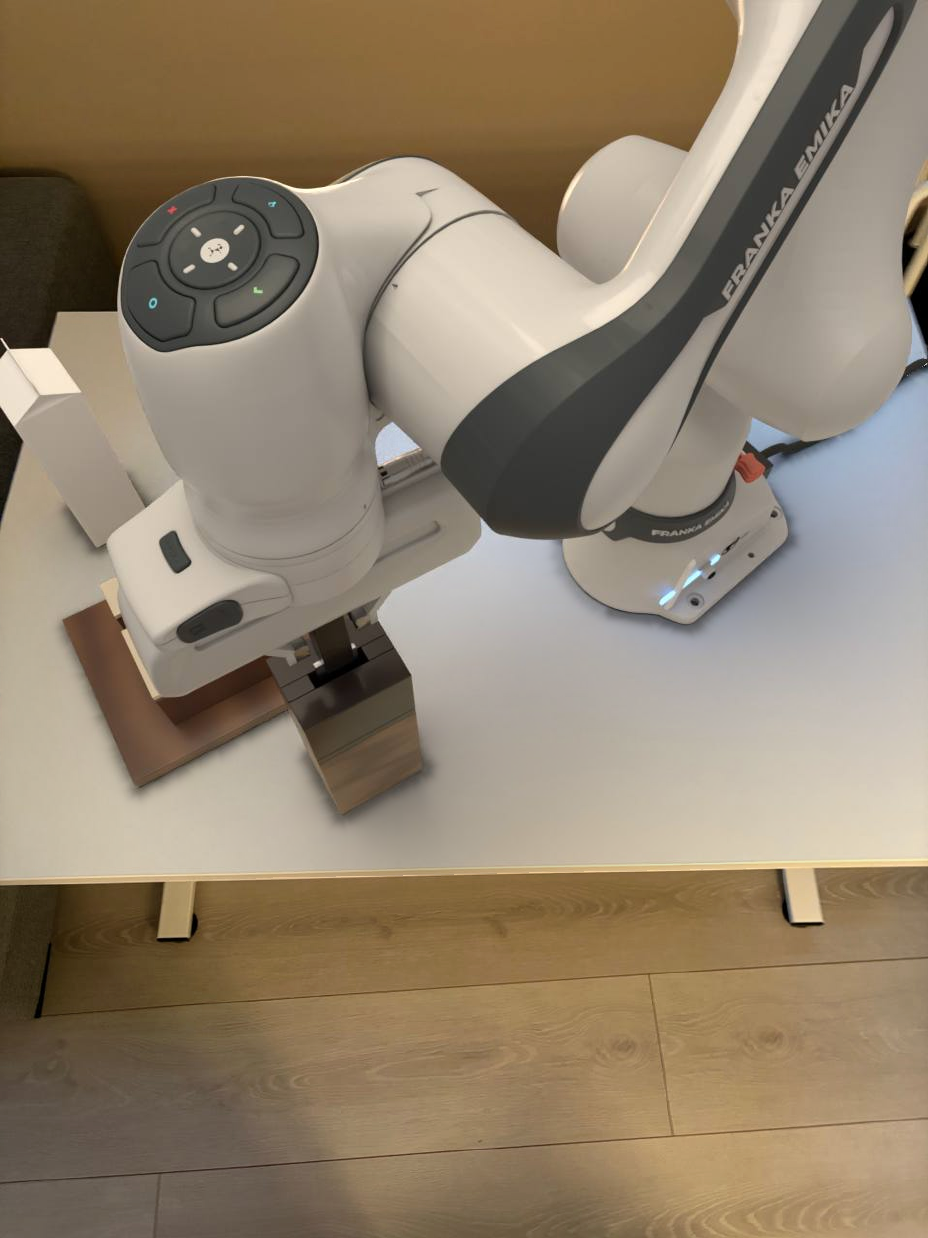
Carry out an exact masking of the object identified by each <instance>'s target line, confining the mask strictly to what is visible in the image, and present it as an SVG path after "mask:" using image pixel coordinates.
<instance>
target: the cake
mask: <svg viewBox="0 0 928 1238" xmlns="http://www.w3.org/2000/svg"><path fill="white" fill-rule="evenodd" d="M121 632H122V635H123V637H124V639H125V641H126V643H127V645H128V647H129V649H130V652H131V654H132V656H133V658H134V660H135V662H136V664H137V667H138V669H139V671H140V673H141V675H142V677H143V679H144V681H145V684H146V686H147V688H148V690H149V692H150V694H151V696H152V698H153V699H154V701H155V702H156V703H157V704H158V706H159V707H160V708H161V709H162V711H163V712H164V713H165V714H166V716H167V717H168V718H169V719H170V720H171V722H172V723H173V724H174V725H177V724H179V723H181V722H183V721H185V720H187V719H189V718H191V717H193V716H195V715H196V714H198V713H200V712H202V711H204V710H206V709H208V708H210V707H212V706H214V705H216V704H218V703H220V702H222V701H224V700H226V699H228V698H230V697H232V696H234V695H236V694H237V693H239V692H241V691H243V690H245V689H247V688H249V687H251V686H253V685H255V684H257V683H259V682H261V681H263V680H265V679H267V678H269V677H271V676H272V674H271V671H270V669H269V667H268V665H267V663H266V659H268V658H270V657H272V656H266V655H263V656H261V657H259V658H257V659H255V660H253V661H251V662H249V663H247V664H245V665H243V666H241V667H239V668H237V669H235V670H233V671H231V672H229V673H227V674H226V675H224V676H222V677H220V678H218V679H216V680H214V681H212V682H210V683H208V684H206V685H204V686H202V687H200V688H198V689H196V690H194V691H192V692H190V693H188V694H186V695H184V696H180V697H162V696H160V695H159V694H158V693H157V691H156V689H155V688H154V686H153V684H152V682H151V680H150V678H149V676H148V674H147V672H146V670H145V668H144V666H143V664H142V662H141V660H140V658H139V656H138V653H137V651H136V649H135V646H134V644H133V642H132V640H131V637H130V635H129V633H128V631H127V629H125V630H122V631H121Z"/></svg>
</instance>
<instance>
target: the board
mask: <svg viewBox="0 0 928 1238" xmlns="http://www.w3.org/2000/svg"><path fill="white" fill-rule="evenodd" d="M344 618H345V619H347V618H349V617H348V615H347V613H346V614H344ZM61 621H62V623H63V626H64V627H65V630H66V632H67V634H68V637H69V639H70V641H71V644H72V646H73V648H74V650H75V653H76V655H77V657H78V659H79V662H80V664H81V667H82V668H83V671H84V674H85V676H86V678H87V681H88V682H89V684H90V687H91V689H92V692H93V694H94V696H95V698H96V700H97V703H98V705H99V707H100V710H101V712H102V714H103V717H104V719H105V720H106V723H107V725H108V727H109V730H110V733H111V734H112V738H113V739H114V741H115V744H116V746H117V749H118V750H119V753H120V755H121V757H122V758H121V759H122V760H123V762H124V765H125V767H126V768H127V771H128V774H129V776H130V778H131V780H132V782H133V784H135V785H136V786H137V787H138V788H141V787H142V786H145V785H146V784H149V783H150V782H152V781H154V780H156V779H158V778H160V777H162V776H163V775H166V774H168V773H169V772H172V771H173V770H176V769H177V768H179V767H181V766H183V765H184V764H186V763H189V762H190V761H192V760H194V759H196V758H199V757H200V756H202V755H204V754H206V753H207V752H209V751H211V750H213V749H215V748H217V747H220V746H222V745H224V743H227V742H228V741H230V740H232V739H235V738H236V737H238V736H240V735H242V734H243V733H245V732H248V731H249V730H251V729H253V728H256V727H258V726H259V725H261V724H263V723H266V722H267V721H269V720H271V719H272V718H274V717H276V716H279V715H280V714H282V713H284V712H286V711H287V710H288V708H287V706H286V704H285V702H284V699H283V697H282V695H281V693H280V691H279V689H278V687H277V684H276V682H275V680H274V678H273V676H271V677H269V678H267V679H265V680H263V681H261V682H259V683H257V684H255V685H253V686H251V687H249V688H247V689H245V690H243V691H241V692H239V693H237V694H236V695H234V696H232V697H230V698H228V699H226V700H224V701H222V702H220V703H218V704H216V705H214V706H212V707H210V708H208V709H206V710H204V711H202V712H200V713H198V714H196V715H195V716H193V717H191V718H189V719H187V720H185V721H183V722H181V723H179V724H177V725H174V724H173V723H172V722H171V720H170V719H169V718H168V717H167V716H166V714H165V713H164V712H163V711H162V709H161V708H160V707H159V706H158V704H157V703H156V702H155V701H154V699H153V698H152V696H151V694H150V692H149V690H148V688H147V686H146V684H145V681H144V679H143V677H142V675H141V673H140V671H139V669H138V667H137V664H136V662H135V660H134V658H133V656H132V654H131V652H130V649H129V647H128V645H127V643H126V641H125V639H124V637H123V635H122V632H121V631H122V630H124V629H123V628H122V626H121V625H120V624H119V622H118V621H117V620H116V618H115V617H114V615H113V613H112V611H111V609H110V607H109V605H108V602H107V600H106V598H105V599H103V600H101V601H99V602H97V603H95V604H93V605H90V606H89V607H86V608H83V609H81V610H80V611H78V612H76V613H74V614H71V615H70V616H69V615H68V616H67V617H65V618H63V619H62V620H61ZM302 637H303V638H304V640H306V639H308V638H310V636H309V633H307V634H305V635H303V636H302ZM288 711H289V710H288Z"/></svg>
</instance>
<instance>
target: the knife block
mask: <svg viewBox="0 0 928 1238" xmlns="http://www.w3.org/2000/svg"><path fill="white" fill-rule="evenodd" d="M345 622H346V626H347V630H348V634H349V638H350V642H351V644H352V643H354V644H355V646H356V648H357V652H358V656H359V661H360V665H361V666H359V667H357V668H355V669H353V670H351V671H349V672H347V673H346V674H344V675H342V676H340V677H338V678H336V679H334V680H332V681H330V682H328V683H326V684H324V685H323V686H320V683H319V680H318V677H317V674H316V671H315V669H314V666H313V663H315V662H317V661H319V658H318V656H317V654H316V653H315V651H314V648H313V645H312V642H311V639H310V638H308V639H306V640H305V642H306V643H307V645H308V648H309V651H310V653H311V656H309V657H307V658H305V659H303V660H301V661H299V662H298V663H295V664H293V665H292V666H289V664H288V662H287V660H286V659H285V657H275V656H272V657H270V658H268V659H266V663H267V665H268V667H269V669H270V671H271V674H272V676H273V678H274V680H275V682H276V684H277V687H278V689H279V691H280V693H281V695H282V697H283V699H284V702H285V704H286V706H287V708H288V712H289V714H290V717H291V720H292V721H293V723H294V725H295V727H296V729H297V732H298V734H299V736H300V738H301V740H302V742H303V744H304V747H305V749H306V751H307V753H308V755H309V758H310V760H311V761H312V763H313V765H314V767H315V769H316V771H317V773H318V775H319V776H320V778H321V780H322V782H323V784H324V785H325V787H326V790H327V791H328V793H329V795H330V797H331V799H332V800H333V802H334V804H335V806H336V809H337V810H338V812H339V814H340V816H341V815H344V814H347V813H348V812H350V811H352V810H353V809H355V808H356V807H358V806H360V805H362V804H364V803H366V802H368V801H369V800H371V799H373V798H374V797H376V796H378V795H380V794H382V793H383V792H385V791H387V790H389V789H391V788H393V787H394V786H396V785H398V784H400V783H401V782H403V781H405V780H406V779H408V778H410V777H411V776H414V775H415V774H417V773H419V772H422V771H423V761H422V752H421V744H420V737H419V727H418V719H417V711H416V701H415V693H414V686H413V685H414V684H413V677H412V673H411V671H410V670H409V668H408V666H407V665H406V663H405V661H404V660H403V658H402V656H401V654H399V652H398V650H397V649H396V648H395V647H396V646H394V643H393V642H392V640H391V639H390V637H389V636H388V634H387V632H386V630H385V629H384V627H383V626H382V624H381V623H380V620H378V621H377V622H376V623H374V624H372V625H369V626H367V627H365V628H363V629H361V630H359V631H357V630H356V629H355V627H354V625H353V621H351V620H350V619H349V618H347V619H345Z"/></svg>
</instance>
